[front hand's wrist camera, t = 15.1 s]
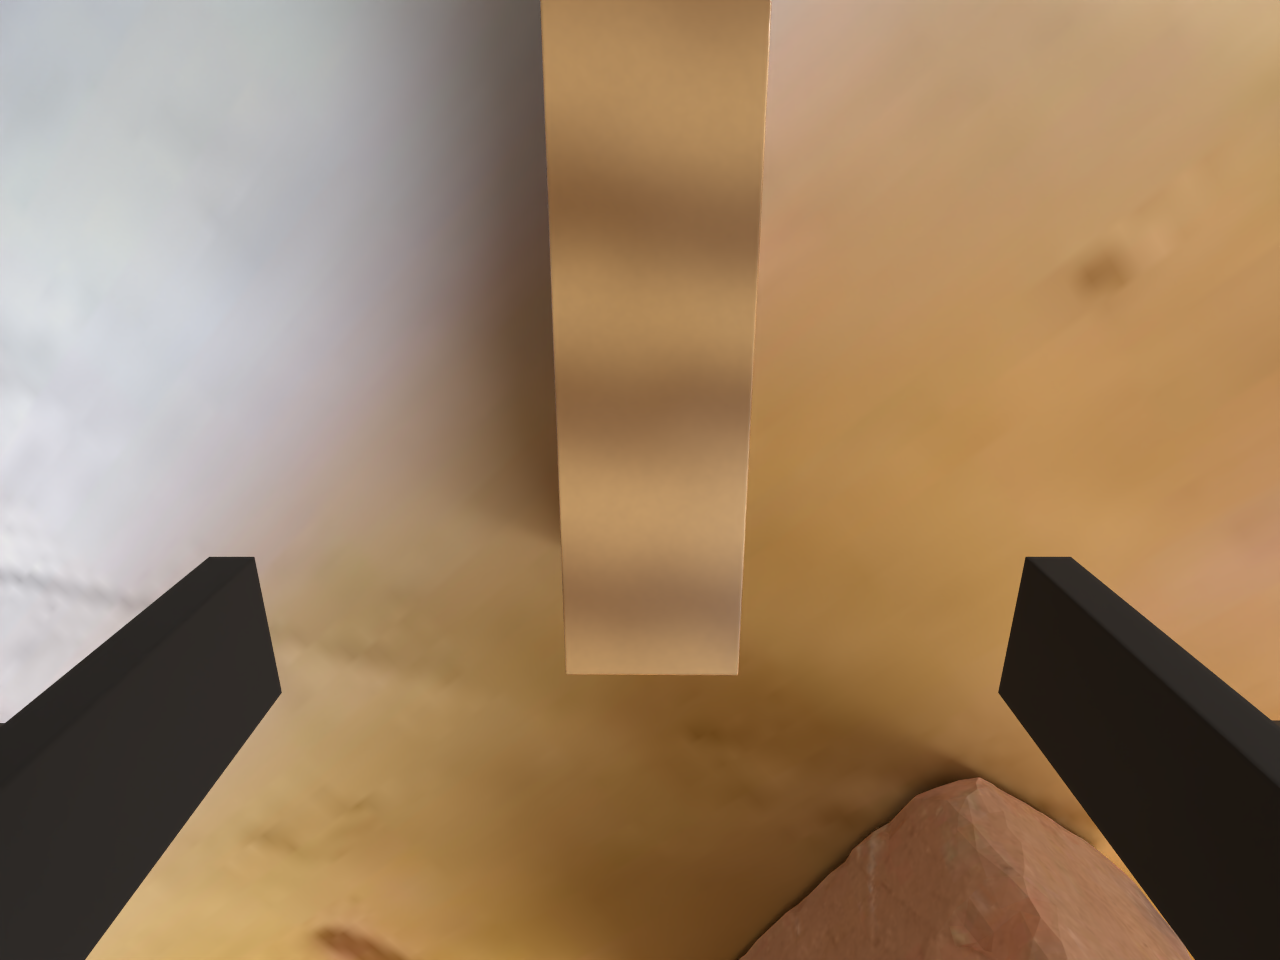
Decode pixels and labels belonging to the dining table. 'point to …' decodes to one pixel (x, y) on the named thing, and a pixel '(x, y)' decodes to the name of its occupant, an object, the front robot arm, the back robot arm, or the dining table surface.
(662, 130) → the beam
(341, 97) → the dining table surface
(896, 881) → the stone
